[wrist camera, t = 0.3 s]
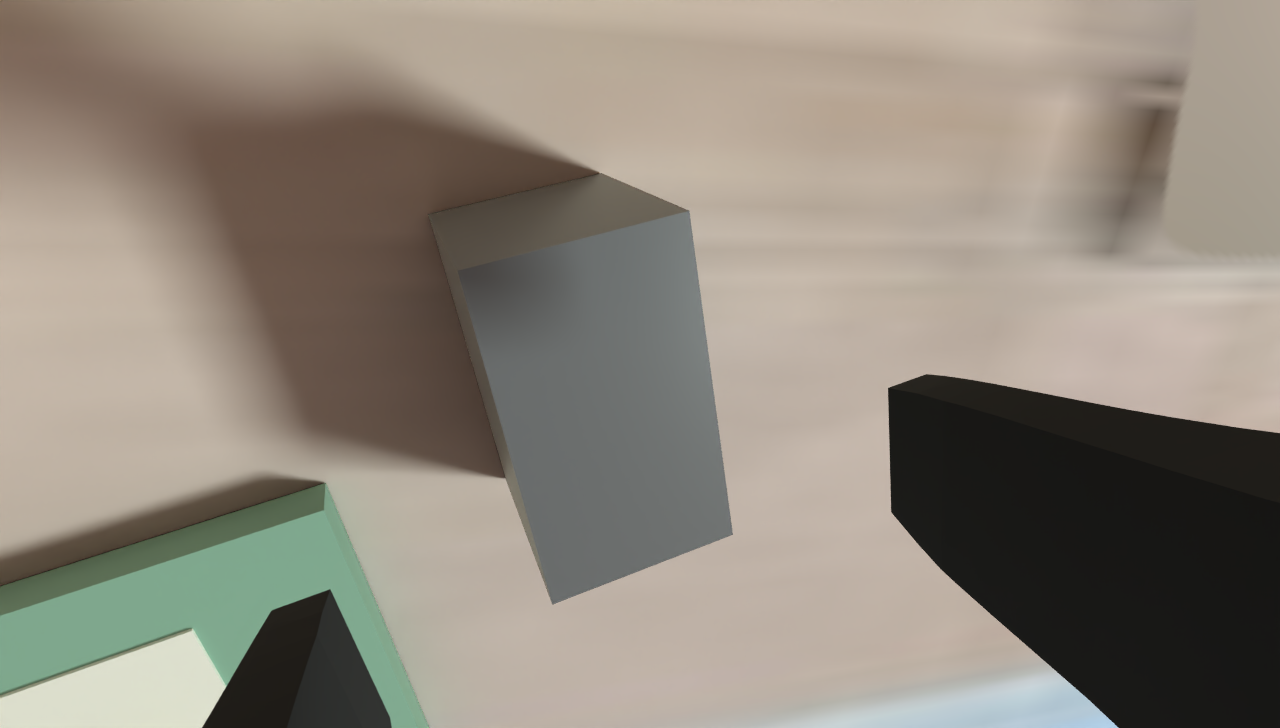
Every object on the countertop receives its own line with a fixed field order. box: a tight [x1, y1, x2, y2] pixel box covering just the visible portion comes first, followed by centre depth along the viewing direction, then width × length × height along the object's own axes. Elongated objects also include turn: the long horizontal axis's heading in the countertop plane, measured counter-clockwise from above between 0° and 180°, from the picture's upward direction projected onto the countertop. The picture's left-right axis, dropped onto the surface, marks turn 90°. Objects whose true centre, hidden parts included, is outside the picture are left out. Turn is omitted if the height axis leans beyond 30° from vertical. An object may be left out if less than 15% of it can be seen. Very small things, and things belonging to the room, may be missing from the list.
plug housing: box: [428, 173, 733, 604], centre depth 16 cm, size 7×4×5 cm, turn 10°
